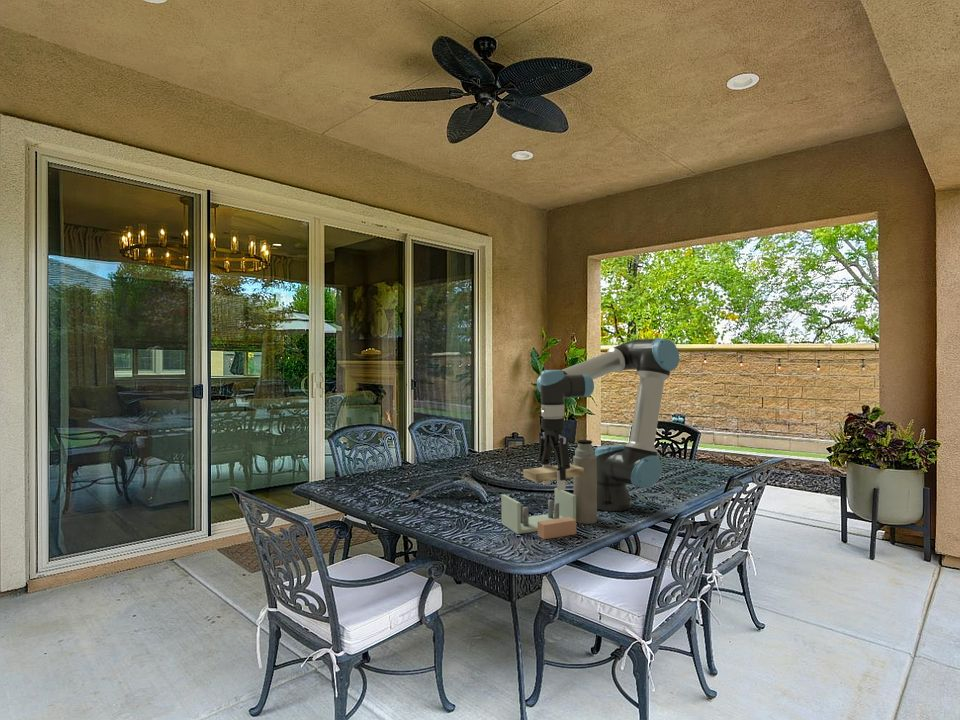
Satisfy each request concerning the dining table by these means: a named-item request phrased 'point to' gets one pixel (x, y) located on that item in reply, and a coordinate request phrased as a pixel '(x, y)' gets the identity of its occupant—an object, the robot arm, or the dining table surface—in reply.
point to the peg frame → (521, 523)
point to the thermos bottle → (586, 483)
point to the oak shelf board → (551, 473)
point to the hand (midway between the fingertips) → (553, 486)
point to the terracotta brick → (556, 527)
